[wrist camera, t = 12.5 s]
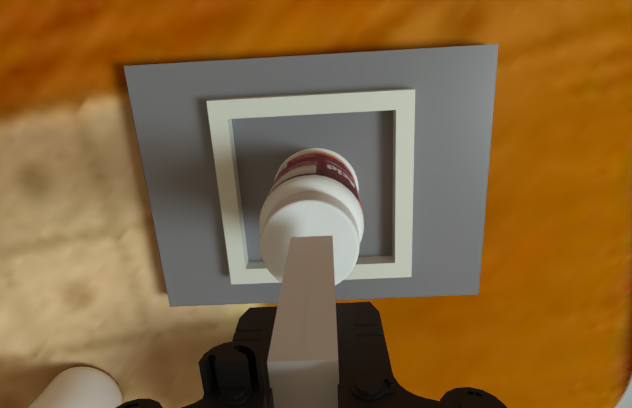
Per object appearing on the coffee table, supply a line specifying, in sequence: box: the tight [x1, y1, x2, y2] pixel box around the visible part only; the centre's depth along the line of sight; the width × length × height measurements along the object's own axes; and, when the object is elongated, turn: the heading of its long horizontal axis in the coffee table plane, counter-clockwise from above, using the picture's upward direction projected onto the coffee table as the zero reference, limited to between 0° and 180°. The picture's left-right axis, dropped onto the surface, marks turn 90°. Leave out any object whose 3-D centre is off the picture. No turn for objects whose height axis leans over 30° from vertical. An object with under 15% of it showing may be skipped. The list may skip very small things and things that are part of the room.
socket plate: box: [124, 44, 498, 307], centre depth 25 cm, size 20×15×2 cm
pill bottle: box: [259, 151, 364, 285], centre depth 21 cm, size 5×5×8 cm
